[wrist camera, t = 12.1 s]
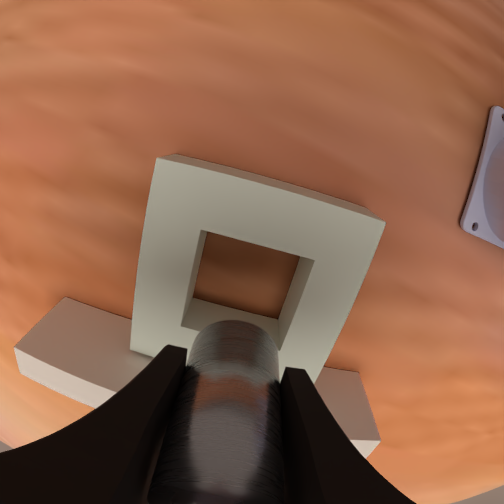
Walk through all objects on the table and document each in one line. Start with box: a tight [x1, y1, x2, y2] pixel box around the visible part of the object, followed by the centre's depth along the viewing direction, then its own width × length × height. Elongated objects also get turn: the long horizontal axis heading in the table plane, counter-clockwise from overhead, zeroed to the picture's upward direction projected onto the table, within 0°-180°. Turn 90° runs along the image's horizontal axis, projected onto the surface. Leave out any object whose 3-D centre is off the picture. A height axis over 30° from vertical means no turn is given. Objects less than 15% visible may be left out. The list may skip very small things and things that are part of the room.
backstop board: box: [14, 297, 381, 459], centre depth 16 cm, size 20×2×6 cm, turn 75°
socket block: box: [130, 154, 386, 384], centre depth 16 cm, size 10×10×3 cm
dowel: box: [147, 320, 285, 504], centre depth 8 cm, size 3×3×6 cm
